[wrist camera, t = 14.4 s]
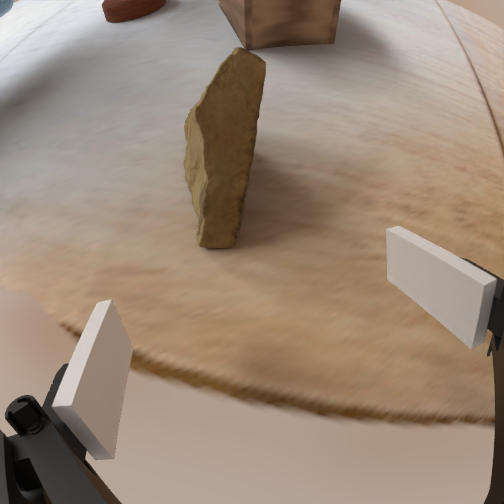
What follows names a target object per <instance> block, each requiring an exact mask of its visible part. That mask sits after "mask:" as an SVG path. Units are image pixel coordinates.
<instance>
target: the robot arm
mask: <svg viewBox="0 0 504 504" xmlns="http://www.w3.org/2000/svg"><path fill="white" fill-rule="evenodd" d="M13 4H14V0H0V17H2V16H3V15H4V14H6V13H7V12H8V11H9V10H10V9H11V8H12V6H13ZM386 243H387V279H388V280H389V281H390V282H391V283H393V284H394V285H395V286H396V287H398V288H399V289H400V290H401V291H403V292H404V293H405V294H406V295H407V296H409V297H410V298H411V299H412V300H414V301H415V302H416V303H417V304H418V305H420V306H421V307H422V308H423V309H425V310H426V311H427V312H428V313H429V314H431V315H432V316H433V317H434V318H435V319H436V320H438V321H439V322H440V323H441V324H442V325H444V326H445V327H446V328H447V329H448V330H449V331H451V332H452V333H453V334H454V335H455V336H456V337H458V338H459V339H460V340H461V341H462V342H463V343H464V344H466V345H467V346H468V347H469V348H470V349H473V348H475V347H476V346H478V345H480V344H481V343H483V342H484V340H485V336H486V332H487V329H489V330H490V331H491V332H492V333H493V334H492V338H491V342H490V346H489V349H488V353H487V356H490V352H491V351H492V355H493V367H494V384H495V439H494V457H493V467H492V476H491V484H490V490H489V493H488V495H487V498H486V500H485V502H484V504H504V280H503V279H501V278H500V277H498V276H496V275H494V274H493V273H491V272H489V271H487V270H486V269H483V268H482V267H480V266H479V265H477V264H475V263H473V262H471V261H470V260H468V259H464V258H460V257H458V256H456V255H454V254H452V253H450V252H448V251H447V250H445V249H443V248H441V247H439V246H437V245H435V244H433V243H432V242H430V241H428V240H426V239H424V238H422V237H420V236H418V235H416V234H414V233H412V232H410V231H408V230H406V229H404V228H402V227H400V226H395V227H391V228H388V229H386ZM132 353H133V345H132V343H131V341H130V339H129V337H128V335H127V333H126V330H125V328H124V326H123V324H122V321H121V319H120V317H119V315H118V312H117V310H116V308H115V305H114V303H113V300H112V299H110V300H106V301H102V302H98V303H97V304H96V306H95V308H94V310H93V312H92V315H91V317H90V319H89V321H88V323H87V325H86V327H85V329H84V331H83V333H82V336H81V338H80V340H79V342H78V344H77V347H76V349H75V351H74V353H73V356H72V358H71V360H70V362H69V363H68V364H64V365H63V366H62V368H60V370H59V371H58V372H57V374H56V376H55V378H54V380H53V384H52V385H51V387H50V391H49V392H48V394H47V396H46V399H45V401H44V404H43V406H42V407H41V406H40V405H39V403H38V402H37V401H36V399H35V398H34V397H33V396H30V395H25V396H21V397H19V398H17V399H15V400H14V401H13V402H12V403H11V404H10V405H9V406H8V408H7V410H6V412H5V419H6V420H7V421H8V423H10V425H11V426H12V427H13V428H14V430H15V431H16V432H17V433H18V434H16V435H13V436H10V437H6V435H5V434H4V433H3V432H2V431H1V430H0V504H122V503H121V502H120V501H119V500H118V499H117V498H116V497H115V496H114V494H113V493H112V492H111V491H110V489H108V487H107V486H106V485H105V483H104V482H103V481H102V480H101V478H100V477H99V476H98V474H97V473H96V472H95V471H94V469H93V468H92V467H91V465H90V464H89V463H88V462H87V461H86V460H85V456H86V451H88V452H89V453H90V455H91V456H92V457H93V458H94V459H95V460H104V459H114V457H115V449H116V442H117V435H118V428H119V422H120V415H121V410H122V404H123V398H124V393H125V387H126V382H127V377H128V372H129V367H130V362H131V357H132Z"/></svg>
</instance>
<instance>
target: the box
mask: <svg viewBox="0 0 504 504" xmlns="http://www.w3.org/2000/svg"><path fill="white" fill-rule="evenodd" d="M340 4H341V0H219V6H220V8H221V9H222V11H223V13H224V14H225V16H226V17H227V19H228V21H229V22H230V24H231V26H232V28H233V29H234V31H235V33H236V34H237V36H238V38H239V40H240V41H241V43H242V45H243V47H244V48H245V49H246V50H251V49H259V48H267V47H277V46H289V45H303V44H326V43H334V40H335V34H336V28H337V22H338V16H339V10H340Z"/></svg>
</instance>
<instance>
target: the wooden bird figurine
mask: <svg viewBox="0 0 504 504" xmlns="http://www.w3.org/2000/svg"><path fill="white" fill-rule="evenodd" d="M165 3H166V0H104V2H103V3H102V8H103V11H104V14H105V18H106V20H107V21H108V22H112V23H117V22H124V21H129V20H133V19H136V18H140V17H143V16H145V15H148V14H150V13H153V12H155V11H157V10H158V9H160V8H161V7H163V6H164V5H165Z"/></svg>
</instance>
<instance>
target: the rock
mask: <svg viewBox="0 0 504 504" xmlns="http://www.w3.org/2000/svg"><path fill="white" fill-rule="evenodd" d="M265 74H266V62H265V61H263V60H262V59H261V58H260V57H258V56H257V55H255V54H254V53H251V52H250V51H248V50H246V49H244V48H241V47H240V48H235V49H234V51H233V52H232V54H231V55H229V56H228V57H227V58H226V59H225V61H224V62H223V63H222V64H221V65H220V66H219V68H218V71H217V72H216V74H215V76H214V78H213V79H212V81H211V83H210V84H209V85H208V86H207V87H206V90H205V91H204V92H203V93H202V95H201V99H200V101H199V102H198V103H197V104H196V105H195V106H194V107H193V108H192V109H191V110H190V112H189V114H188V117H187V119H186V121H185V125H184V129H185V136H186V140H187V147H186V156H185V160H184V166H185V171H186V181H187V183H188V188H189V190H190V191H191V193H192V198H193V201H192V203H193V206H194V209H195V211H196V213H197V215H198V217H199V225H198V231H197V233H196V234H197V240H198V244H199V246H200V247H215V248H231V247H232V246H234V244H235V241H236V239H237V233H238V231H239V230H240V226H241V222H242V216H243V209H244V200H245V197H246V193H247V188H248V183H249V175H250V168H251V165H252V161H253V153H254V148H255V141H256V134H257V120H258V118H259V110H260V103H261V99H262V95H263V86H264V80H265Z"/></svg>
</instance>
